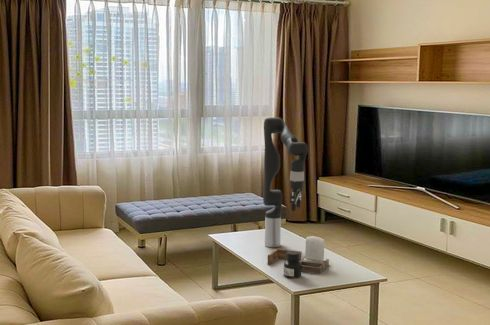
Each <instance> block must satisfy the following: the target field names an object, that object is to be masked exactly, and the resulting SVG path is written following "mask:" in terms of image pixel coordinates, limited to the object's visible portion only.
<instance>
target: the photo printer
mask: <svg viewBox="0 0 490 325" xmlns="http://www.w3.org/2000/svg"><path fill="white" fill-rule="evenodd" d="M325 242H326V241H325V239H323V238H321V237H319V236H315V235H314V236H313V235H311V236H307V237H306V239H305V252H304V254H305V256H304V257H305V258H307V259H311V260H316V261H324V259H325Z"/></svg>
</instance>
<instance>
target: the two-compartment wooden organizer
mask: <svg viewBox="0 0 490 325" xmlns="http://www.w3.org/2000/svg"><path fill="white" fill-rule="evenodd" d="M300 262H301V263H302V272H304V273H311V274H318V275H320V274H322V273H323V271H325V270H326V268H327V267H328V266H329V264H330V258H324V261H316V260H311V259H307V258H305V256H303V257H302V258H301V261H300Z"/></svg>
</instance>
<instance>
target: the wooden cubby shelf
mask: <svg viewBox="0 0 490 325" xmlns="http://www.w3.org/2000/svg"><path fill="white" fill-rule="evenodd" d="M287 251H293V250H291V249H283V248H278V247H275V249H274V250H272V251H271V252H270V253H268V254H267V265H271V264H272V263H274V262H275V261H276V260H277V259H281V260H286V252H287ZM297 251H298V250H297ZM298 252H300V260H299V261H301V260H302V251H298Z"/></svg>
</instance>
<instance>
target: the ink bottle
mask: <svg viewBox="0 0 490 325" xmlns="http://www.w3.org/2000/svg"><path fill="white" fill-rule="evenodd" d="M300 252H301V251H300ZM300 252H298V250H292V251H287V252H286V259H285V261H284V263H283V276H284V277H286V278H288V279H297V278H301V277H302V274H303V273H302V263H301V262H300V261H299V260H300Z"/></svg>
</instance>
